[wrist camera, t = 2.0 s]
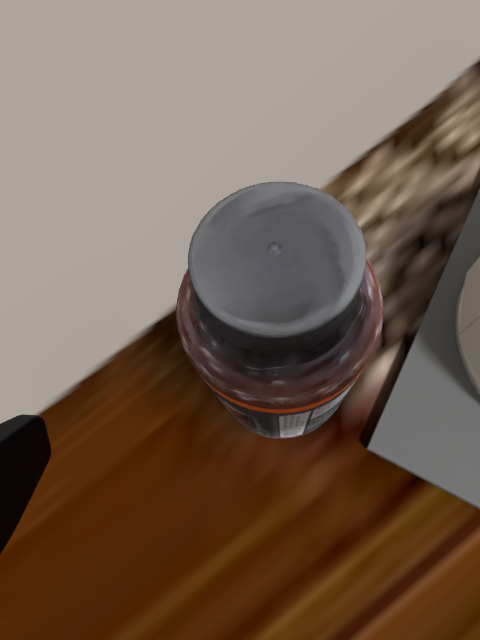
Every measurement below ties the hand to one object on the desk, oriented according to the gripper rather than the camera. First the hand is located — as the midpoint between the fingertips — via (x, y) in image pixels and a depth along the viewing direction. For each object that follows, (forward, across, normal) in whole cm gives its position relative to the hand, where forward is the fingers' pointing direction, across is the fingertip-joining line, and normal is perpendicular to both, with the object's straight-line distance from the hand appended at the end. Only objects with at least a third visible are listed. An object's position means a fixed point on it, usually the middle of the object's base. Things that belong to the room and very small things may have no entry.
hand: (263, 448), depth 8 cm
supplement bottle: (+11, 0, +5) cm, 12 cm away
